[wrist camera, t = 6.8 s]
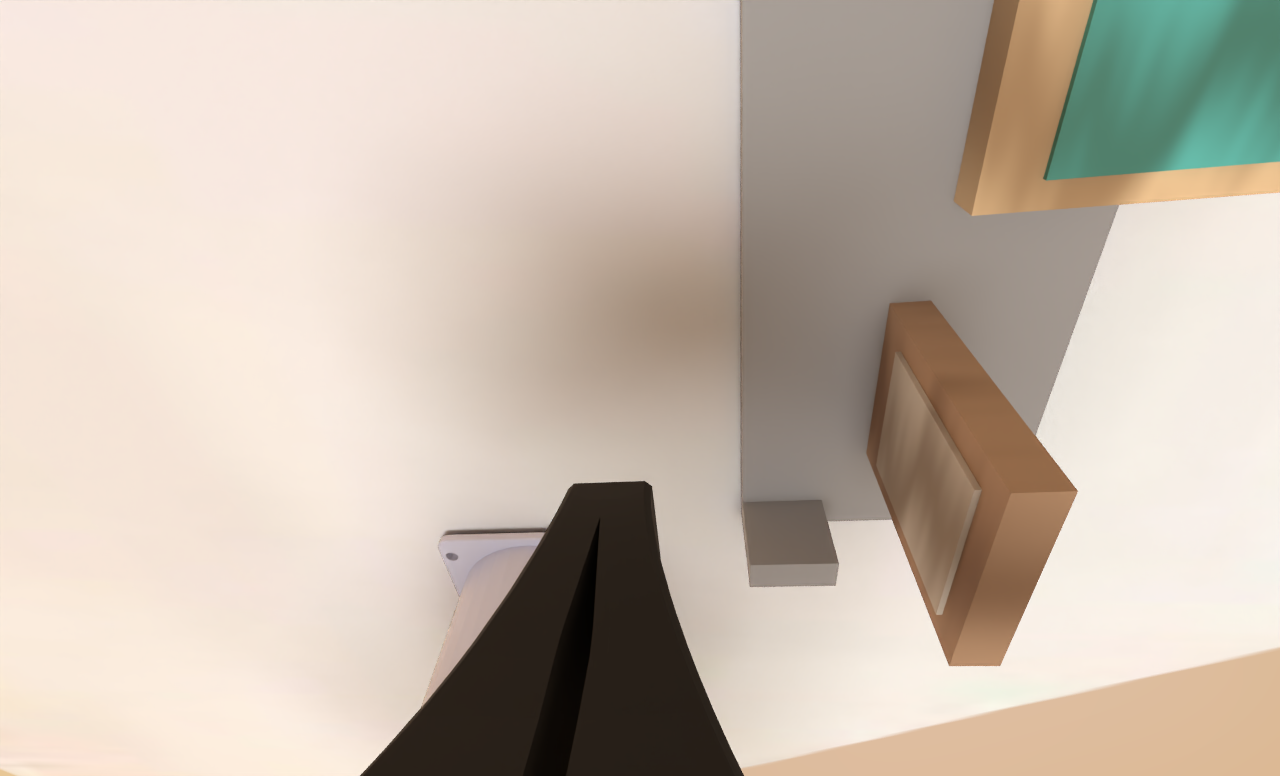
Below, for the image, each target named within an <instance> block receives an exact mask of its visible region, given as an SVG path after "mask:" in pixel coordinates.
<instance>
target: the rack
mask: <svg viewBox="0 0 1280 776" xmlns="http://www.w3.org/2000/svg"><path fill="white" fill-rule="evenodd" d="M993 3H994V0H741V514H742V523H743V532H744V540H745V549H746V558H747V566H748V575H749V583H750V587H776V586H836V580H837V572H838V565H839V563H838V559H837V555H836V551H835V548H834V544H833V540H832V537H831V533H830V529H829V526H828V522H827V521H853V520H890V519H892V518H891V515H890V513H889V510H888V508H887V505H886V503H885V500H884V497H883V495H882V492H881V490H880V487H879V485H878V482H877V480H876V477H875V474H874V472H873V469H872V467H871V464H870V462H869V459H868V456H867V454H866V451H867V445H868V439H869V432H870V426H871V419H872V413H873V407H874V400H875V394H876V387H877V381H878V375H879V368H880V362H881V355H882V349H883V343H884V336H885V330H886V323H887V317H888V311H889V304H890V303H900V302H916V301H932V302H933V304H934V305H935V306H936V308H937V309H938V310H939V312H940V313H941V314H942V315H943V317H944V318H945V319H946V321H947V322H948V323H949V325H950V326H951V327H952V328H953V330H954V331H955V332H956V334H957V335H958V336H959V337H960V339H961V340H962V341H963V343H964V344H965V345H966V347H967V348H968V349H969V350H970V352H971V353H972V354H973V356H974V357H975V358H976V360H977V361H978V362H979V363H980V365H981V366H982V367H983V369H984V370H985V371H986V373H987V374H988V375H989V376H990V378H991V379H992V380H993V382H994V383H995V384H996V386H997V387H998V388H999V389H1000V391H1001V392H1002V393H1003V395H1004V396H1005V397H1006V399H1007V400H1008V401H1009V402H1010V404H1011V405H1012V406H1013V408H1014V409H1015V410H1016V412H1017V413H1018V414H1019V415H1020V417H1021V418H1022V419H1023V421H1024V422H1025V423H1026V424H1027V426H1028V427H1029V428H1030V430H1031V431H1032V432H1033V434H1034V435H1036V432H1037V430H1038V427H1039V424H1040V421H1041V419H1042V416H1043V413H1044V410H1045V408H1046V405H1047V402H1048V399H1049V397H1050V394H1051V391H1052V388H1053V386H1054V383H1055V380H1056V377H1057V375H1058V372H1059V369H1060V366H1061V364H1062V361H1063V358H1064V355H1065V352H1066V350H1067V347H1068V344H1069V341H1070V339H1071V336H1072V333H1073V330H1074V328H1075V325H1076V322H1077V319H1078V317H1079V314H1080V311H1081V308H1082V306H1083V303H1084V300H1085V297H1086V295H1087V292H1088V289H1089V286H1090V284H1091V281H1092V278H1093V275H1094V272H1095V270H1096V267H1097V264H1098V261H1099V259H1100V256H1101V253H1102V250H1103V248H1104V245H1105V242H1106V239H1107V237H1108V234H1109V231H1110V228H1111V226H1112V223H1113V220H1114V217H1115V215H1116V212H1117V209H1118V206H1119V205H1108V206H1095V207H1082V208H1069V209H1056V210H1043V211H1030V212H1017V213H1004V214H991V215H977V216H971V215H970V214H969V213H967V212H966V211H965V210H964V209H963V208H961V207H960V206H959V205H958V204H957V203H955V202H954V197H955V192H956V187H957V182H958V177H959V172H960V167H961V162H962V157H963V153H964V148H965V143H966V138H967V133H968V128H969V123H970V118H971V113H972V108H973V103H974V98H975V93H976V88H977V83H978V78H979V73H980V68H981V63H982V58H983V53H984V48H985V43H986V38H987V33H988V28H989V23H990V18H991V13H992V8H993Z"/></svg>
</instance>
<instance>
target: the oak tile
mask: <svg viewBox="0 0 1280 776" xmlns="http://www.w3.org/2000/svg"><path fill="white" fill-rule="evenodd" d="M1278 192H1280V0H994V3H993V8H992V13H991V18H990V23H989V28H988V33H987V38H986V43H985V48H984V53H983V58H982V63H981V68H980V73H979V78H978V83H977V88H976V93H975V98H974V103H973V108H972V113H971V118H970V123H969V128H968V133H967V138H966V143H965V148H964V153H963V157H962V162H961V167H960V172H959V177H958V182H957V187H956V192H955V197H954V202H955V203H957V204H958V205H959V206H960V207H961V208H963V209H964V210H965V211H966V212H967V213H969V214H970V215H971V216H977V215H991V214H1004V213H1017V212H1030V211H1043V210H1056V209H1069V208H1082V207H1095V206H1108V205H1121V204H1134V203H1147V202H1160V201H1173V200H1186V199H1200V198H1213V197H1226V196H1239V195H1252V194H1265V193H1278Z"/></svg>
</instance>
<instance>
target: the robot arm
mask: <svg viewBox="0 0 1280 776" xmlns="http://www.w3.org/2000/svg"><path fill="white" fill-rule="evenodd" d="M438 549H439V551H440V554H441V556H442V558H443V561H444V563H445V565H446V567H447V570H448V572H449V574H450V577H451V579H452V581H453V583H454V586H455V588H456V590H457V592H458V595H459V597H460V598H459V601H458V604H457V607H456V610H455V612H454V615H453V618H452V621H451V624H450V627H449V629H448V632H447V635H446V638H445V641H444V644H443V647H442V649H441V652H440V655H439V658H438V661H437V664H436V666H435V669H434V672H433V675H432V678H431V681H430V684H429V686H428V689H427V692H426V695H425V698H424V701H423V703H422V706H421V709H420V710H419V711H418V712H417V713H416V714H415V715H414V717H413V718H412V719H411V720H410V721H409V722H408V723H407V724H406V726H405V727H404V728H403V729H402V730H401V731H400V732H399V734H398V735H397V736H396V737H395V738H394V739H393V740H392V742H391V743H390V744H389V745H388V746H387V747H386V748H385V749H384V751H383V752H382V753H381V754H380V755H379V756H378V757H377V758H376V759H375V760H374V761H373V762H372V764H371V765H370V766H369V767H368V768H367V769H366V770H365V771H364V772H363V773H362V774H361V775H360V776H744V775H743V773H742V771H741V769H740V767H739V765H738V763H737V761H736V758H735V756H734V754H733V752H732V750H731V748H730V746H729V744H728V741H727V739H726V737H725V735H724V733H723V730H722V728H721V726H720V724H719V721H718V719H717V717H716V715H715V712H714V710H713V708H712V705H711V703H710V701H709V698H708V696H707V693H706V691H705V689H704V686H703V684H702V682H701V679H700V677H699V674H698V672H697V669H696V667H695V664H694V661H693V659H692V656H691V654H690V651H689V648H688V646H687V643H686V640H685V637H684V634H683V632H682V629H681V626H680V623H679V620H678V617H677V614H676V611H675V608H674V605H673V602H672V599H671V596H670V592H669V589H668V585H667V581H666V578H665V574H664V571H663V567H662V564H661V560H660V550H659V541H658V533H657V525H656V516H655V508H654V500H653V491H652V486H651V485H649V484H648V483H647V482H645V481H637V482H607V483H578V484H573V485H572V486H571V487H570V488H569V489H568V491H567V493H566V495H565V497H564V499H563V501H562V503H561V505H560V507H559V509H558V511H557V512H556V514H555V516H554V518H553V520H552V522H551V523H550V525H549V527H548V529H547V530H546V532H535V533H497V534H458V535H445V536H443V537H441V539H440V541H439V544H438Z"/></svg>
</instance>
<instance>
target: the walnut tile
mask: <svg viewBox="0 0 1280 776" xmlns="http://www.w3.org/2000/svg"><path fill="white" fill-rule="evenodd" d="M866 454H867V456H868V459H869V462H870V464H871V467H872V469H873V472H874V474H875V477H876V480H877V482H878V485H879V487H880V490H881V492H882V495H883V497H884V500H885V503H886V505H887V508H888V510H889V513H890V515H891V518H892V521H893V523H894V526H895V528H896V531H897V533H898V536H899V538H900V541H901V544H902V546H903V549H904V551H905V554H906V556H907V559H908V562H909V564H910V567H911V569H912V572H913V574H914V577H915V579H916V582H917V585H918V587H919V590H920V592H921V595H922V597H923V600H924V603H925V605H926V608H927V610H928V613H929V615H930V618H931V621H932V623H933V626H934V628H935V631H936V633H937V636H938V638H939V641H940V644H941V646H942V649H943V651H944V654H945V656H946V659H947V662H948V664H949V666H1000V665H1001V663H1002V660H1003V658H1004V656H1005V654H1006V651H1007V649H1008V647H1009V645H1010V642H1011V640H1012V638H1013V636H1014V633H1015V631H1016V629H1017V627H1018V624H1019V622H1020V620H1021V618H1022V615H1023V613H1024V611H1025V609H1026V607H1027V604H1028V602H1029V600H1030V598H1031V595H1032V593H1033V591H1034V589H1035V586H1036V584H1037V582H1038V580H1039V577H1040V575H1041V573H1042V571H1043V568H1044V566H1045V564H1046V562H1047V559H1048V557H1049V555H1050V553H1051V550H1052V548H1053V546H1054V544H1055V541H1056V539H1057V537H1058V535H1059V533H1060V530H1061V528H1062V526H1063V524H1064V521H1065V519H1066V517H1067V515H1068V512H1069V510H1070V508H1071V506H1072V503H1073V501H1074V499H1075V497H1076V494H1077V492H1078V491H1077V489H1076V488H1075V487H1074V486H1073V484H1072V483H1071V482H1070V480H1069V479H1068V478H1067V476H1066V475H1065V474H1064V473H1063V471H1062V470H1061V469H1060V467H1059V466H1058V465H1057V463H1056V462H1055V461H1054V460H1053V458H1052V457H1051V456H1050V454H1049V453H1048V452H1047V450H1046V449H1045V448H1044V447H1043V445H1042V444H1041V443H1040V441H1039V440H1038V439H1037V437H1036V436H1035V435H1034V434H1033V432H1032V431H1031V430H1030V428H1029V427H1028V426H1027V424H1026V423H1025V422H1024V421H1023V419H1022V418H1021V417H1020V415H1019V414H1018V413H1017V412H1016V410H1015V409H1014V408H1013V406H1012V405H1011V404H1010V402H1009V401H1008V400H1007V399H1006V397H1005V396H1004V395H1003V393H1002V392H1001V391H1000V389H999V388H998V387H997V386H996V384H995V383H994V382H993V380H992V379H991V378H990V376H989V375H988V374H987V373H986V371H985V370H984V369H983V367H982V366H981V365H980V363H979V362H978V361H977V360H976V358H975V357H974V356H973V354H972V353H971V352H970V350H969V349H968V348H967V347H966V345H965V344H964V343H963V341H962V340H961V339H960V337H959V336H958V335H957V334H956V332H955V331H954V330H953V328H952V327H951V326H950V325H949V323H948V322H947V321H946V319H945V318H944V317H943V315H942V314H941V313H940V312H939V310H938V309H937V308H936V306H935V305H934V304H933V302H932V301H916V302H900V303H890V304H889V311H888V317H887V323H886V330H885V336H884V343H883V349H882V355H881V362H880V368H879V375H878V381H877V387H876V394H875V400H874V407H873V413H872V419H871V426H870V432H869V439H868V445H867V451H866Z"/></svg>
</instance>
